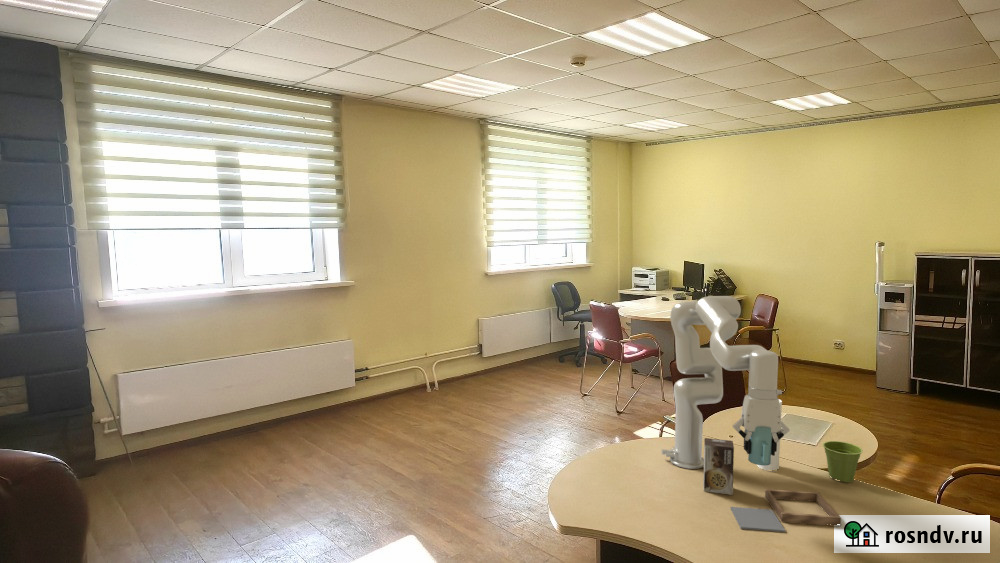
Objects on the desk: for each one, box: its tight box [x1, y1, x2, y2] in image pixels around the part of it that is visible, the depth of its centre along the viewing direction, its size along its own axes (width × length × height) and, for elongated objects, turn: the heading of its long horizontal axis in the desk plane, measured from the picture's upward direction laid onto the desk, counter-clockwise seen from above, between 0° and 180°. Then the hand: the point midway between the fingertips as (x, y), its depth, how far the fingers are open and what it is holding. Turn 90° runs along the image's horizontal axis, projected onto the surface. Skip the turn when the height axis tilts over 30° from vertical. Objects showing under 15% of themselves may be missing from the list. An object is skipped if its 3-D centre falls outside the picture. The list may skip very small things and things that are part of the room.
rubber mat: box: [730, 506, 786, 533], centre depth 166 cm, size 12×12×1 cm
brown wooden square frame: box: [764, 488, 842, 526], centre depth 172 cm, size 16×16×2 cm
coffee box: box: [702, 437, 735, 496], centre depth 185 cm, size 9×6×16 cm
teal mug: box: [747, 427, 772, 466], centre depth 163 cm, size 9×6×11 cm, turn 171°
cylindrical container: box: [756, 398, 783, 471], centre depth 202 cm, size 7×7×25 cm
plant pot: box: [822, 440, 864, 483], centre depth 194 cm, size 12×12×11 cm
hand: (759, 452), depth 164 cm, fingers closed on teal mug, 6 cm apart
